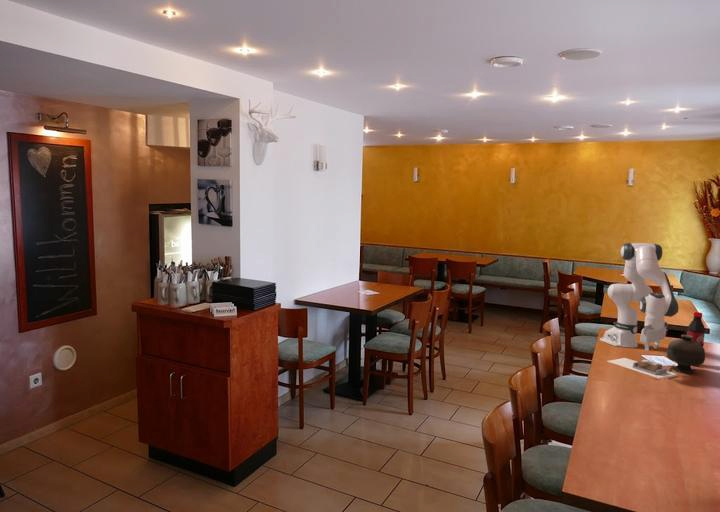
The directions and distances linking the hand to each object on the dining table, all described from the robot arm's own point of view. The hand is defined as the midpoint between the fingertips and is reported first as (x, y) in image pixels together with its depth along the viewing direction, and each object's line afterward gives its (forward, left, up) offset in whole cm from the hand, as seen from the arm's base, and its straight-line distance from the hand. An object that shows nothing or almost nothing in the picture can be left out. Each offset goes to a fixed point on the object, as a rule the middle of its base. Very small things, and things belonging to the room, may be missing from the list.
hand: (651, 349), depth 281 cm
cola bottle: (+1, +38, -13) cm, 40 cm away
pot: (+6, +21, -13) cm, 25 cm away
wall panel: (-5, 0, -13) cm, 14 cm away
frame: (0, 0, -12) cm, 12 cm away
